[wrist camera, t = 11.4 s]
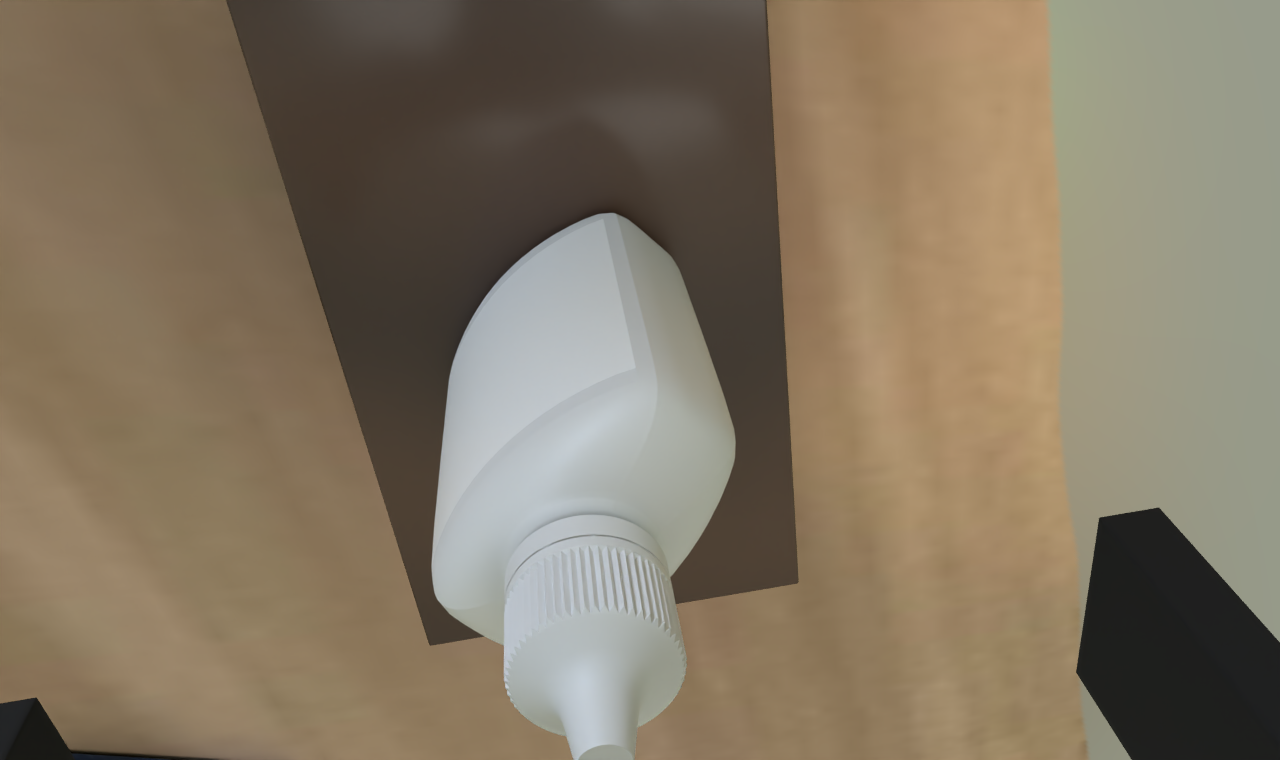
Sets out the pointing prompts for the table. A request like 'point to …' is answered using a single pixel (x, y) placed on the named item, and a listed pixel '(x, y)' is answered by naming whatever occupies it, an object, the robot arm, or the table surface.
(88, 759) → the protein box
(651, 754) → the table surface
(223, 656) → the table surface
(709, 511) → the eye dropper bottle
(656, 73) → the dark brown wooden stand
